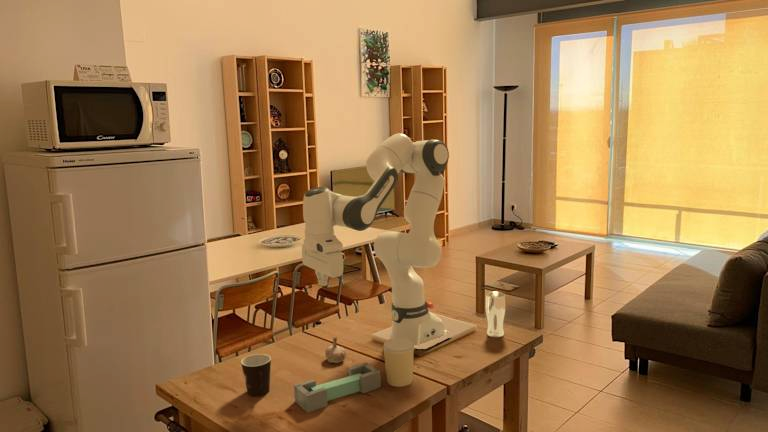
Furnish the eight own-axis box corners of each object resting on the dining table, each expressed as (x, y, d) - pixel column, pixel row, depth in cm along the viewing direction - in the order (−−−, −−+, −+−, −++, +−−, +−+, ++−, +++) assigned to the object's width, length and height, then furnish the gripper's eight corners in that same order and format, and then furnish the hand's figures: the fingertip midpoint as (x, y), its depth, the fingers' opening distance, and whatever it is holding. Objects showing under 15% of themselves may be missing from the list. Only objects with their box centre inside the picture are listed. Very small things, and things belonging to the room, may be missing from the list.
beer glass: (482, 335, 210) (482, 295, 207) (490, 329, 215) (490, 290, 213) (500, 339, 206) (500, 298, 203) (508, 332, 211) (508, 293, 209)
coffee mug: (247, 384, 179) (245, 354, 177) (276, 384, 178) (273, 353, 176) (237, 404, 167) (234, 371, 165) (267, 403, 167) (264, 370, 165)
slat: (315, 405, 166) (315, 392, 165) (311, 400, 169) (310, 387, 168) (365, 390, 173) (365, 377, 173) (360, 385, 176) (359, 373, 176)
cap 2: (366, 377, 181) (365, 362, 180) (380, 387, 174) (380, 371, 173) (349, 383, 177) (348, 367, 176) (363, 393, 171) (362, 377, 170)
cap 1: (307, 412, 161) (306, 396, 160) (294, 401, 168) (293, 385, 167) (327, 405, 164) (326, 389, 163) (314, 394, 171) (313, 378, 170)
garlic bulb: (334, 353, 199) (333, 331, 198) (351, 358, 195) (350, 335, 194) (320, 362, 193) (318, 339, 192) (337, 367, 189) (336, 343, 187)
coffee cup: (421, 379, 178) (420, 342, 176) (400, 391, 171) (399, 352, 169) (399, 370, 184) (397, 334, 182) (377, 381, 178) (376, 344, 176)
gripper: (295, 237, 185) (298, 279, 188) (326, 249, 168) (329, 295, 171) (313, 233, 189) (316, 275, 191) (345, 245, 172) (348, 290, 175)
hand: (322, 284), depth 181 cm, fingers closed
